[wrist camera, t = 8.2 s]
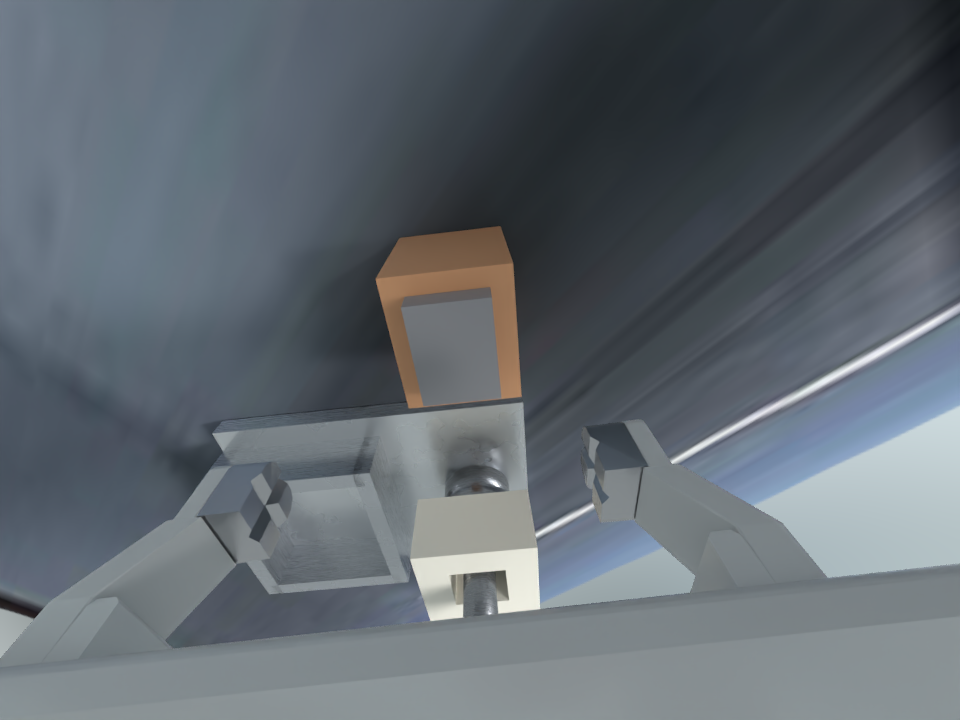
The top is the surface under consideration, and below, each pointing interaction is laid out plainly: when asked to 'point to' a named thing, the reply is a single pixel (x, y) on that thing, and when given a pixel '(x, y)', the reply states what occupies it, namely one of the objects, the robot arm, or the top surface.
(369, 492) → the chassis
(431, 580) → the square housing
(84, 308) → the top surface
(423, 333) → the block
